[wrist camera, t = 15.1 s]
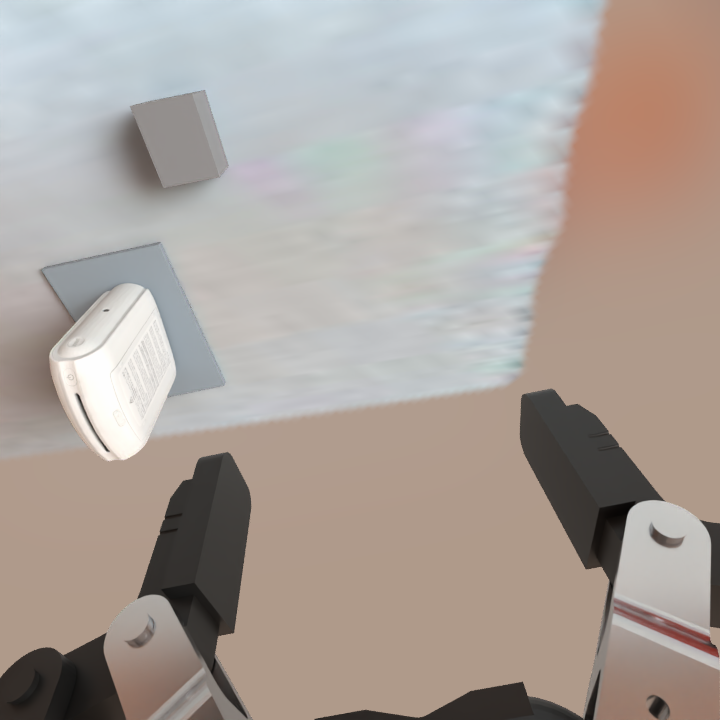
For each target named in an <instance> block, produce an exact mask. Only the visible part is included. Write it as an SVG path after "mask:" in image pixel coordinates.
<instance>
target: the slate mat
mask: <svg viewBox="0 0 720 720" xmlns="http://www.w3.org/2000/svg"><path fill="white" fill-rule="evenodd" d="M42 272H43V273H44V275H45V277H46V278H47V280H48V281H49V283H50V284H51V286H52V287H53V289H54V290H55V292H56V293H57V295H58V296H59V298H60V299H61V301H62V303H63V304H64V306H65V307H66V309H67V310H68V312H69V313H70V315H71V316H72V318H73V319H74V321H75V322H77V321H78V320H79V319H80V318H81V317H82V316H83V315H84V314H85V312H86V311H87V310H88V309H89V308H90V307H91V306H92V305H93V304H94V303H95V302H96V301H97V300H98V299H99V298H100V297H101V296H102V295H103V294H104V293H105V292H106V291H111V290H112V289H113V288H114V287H116V286H117V285H119V284H124V283H133V284H137V285H140V286H142V287H144V289H149V291H150V292H151V294H152V296H153V298H154V300H155V303H156V305H157V308H158V311H159V313H160V317H161V319H162V322H163V326H164V329H165V332H166V335H167V338H168V341H169V344H170V347H171V351H172V354H173V358H174V361H175V366H176V377H175V380H174V382H173V384H172V387H171V389H170V391H169V393H168V395H167V397H171V396H176V395H181V394H186V393H191V392H196V391H201V390H205V389H210V388H215V387H220V386H224V385H225V380H224V378H223V376H222V374H221V371H220V369H219V367H218V365H217V363H216V361H215V358H214V356H213V354H212V352H211V350H210V348H209V346H208V343H207V341H206V339H205V337H204V335H203V333H202V331H201V328H200V326H199V324H198V322H197V320H196V318H195V315H194V313H193V311H192V309H191V307H190V305H189V303H188V300H187V298H186V296H185V294H184V292H183V290H182V287H181V285H180V283H179V281H178V279H177V277H176V275H175V272H174V270H173V268H172V266H171V264H170V262H169V259H168V257H167V255H166V253H165V251H164V249H163V247H162V244H161V242H159V243H154V244H150V245H145V246H141V247H136V248H131V249H127V250H122V251H117V252H113V253H108V254H104V255H99V256H94V257H90V258H85V259H80V260H76V261H71V262H67V263H62V264H57V265H53V266H48V267H44V268H43V269H42Z"/></svg>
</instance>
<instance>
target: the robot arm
mask: <svg viewBox="0 0 720 720" xmlns="http://www.w3.org/2000/svg"><path fill="white" fill-rule="evenodd" d="M520 440H521V445H522V448H523V451H524V454H525V456H526V458H527V460H528V462H529V464H530V466H531V468H532V470H533V471H534V473H535V475H536V477H537V479H538V481H539V483H540V484H541V486H542V488H543V490H544V492H545V494H546V496H547V498H548V499H549V501H550V503H551V505H552V507H553V509H554V511H555V512H556V514H557V516H558V518H559V520H560V522H561V523H562V525H563V527H564V529H565V531H566V533H567V535H568V537H569V539H570V540H571V542H572V544H573V546H574V548H575V550H576V552H577V553H578V555H579V557H580V559H581V561H582V563H583V565H584V567H585V568H586V569H591V568H597V567H602V568H603V570H604V572H605V573H606V575H607V577H608V579H609V583H608V588H607V593H606V599H605V605H604V610H603V616H602V621H601V626H600V632H599V637H598V643H597V649H596V654H595V660H594V665H593V669H592V674H591V678H590V682H589V687H588V692H587V697H586V702H585V708H584V713H583V718H581V717H580V716H578V715H576V714H575V713H573V712H572V711H570V710H568V709H566V708H564V707H562V706H560V705H557V704H555V703H553V702H550V701H547V700H543V699H540V698H536V697H529V696H527V693H526V690H525V687H524V684H523V682H519V683H514V684H508V685H503V686H497V687H491V688H486V689H480V690H474V691H470V692H469V693H467V694H465V695H463V696H461V697H460V698H458V699H456V700H454V701H452V702H450V703H448V704H447V705H445V706H443V707H441V708H439V709H437V710H435V711H434V712H432V713H430V714H428V715H426V716H424V717H420V718H415V717H407V716H401V715H395V714H388V713H382V712H375V711H369V710H362V711H357V712H351V713H345V714H340V715H334V716H329V717H323V718H318V719H315V720H720V660H719V653H718V649H717V647H716V646H715V645H713V644H712V643H711V640H710V627H716V628H720V524H719V523H711V522H706V521H701V520H699V519H698V518H697V517H695V516H694V515H693V514H691V513H690V512H689V511H687V510H685V509H684V508H682V507H679V506H677V505H675V504H672V503H668V502H666V501H664V500H663V499H662V498H661V497H660V495H659V494H658V493H657V492H656V491H655V489H654V488H653V487H652V485H651V484H650V483H649V482H648V480H647V479H646V478H645V477H644V475H643V474H642V473H641V471H640V470H639V469H638V468H637V466H636V465H635V464H634V463H633V461H632V460H631V459H630V458H629V456H628V455H627V454H626V453H625V451H624V450H623V449H622V448H621V447H619V444H618V443H617V441H616V440H615V439H614V438H613V437H612V435H611V434H609V433H608V430H607V429H606V428H605V426H604V425H603V424H602V422H601V421H600V420H599V419H598V418H597V416H596V415H594V414H593V413H591V412H589V411H588V410H586V409H585V408H583V407H581V406H580V405H578V404H575V405H569V406H566V405H565V404H564V402H563V401H562V399H561V398H560V397H559V395H558V394H557V393H556V391H555V390H553V389H547V390H542V391H538V392H532V393H527V394H524V395H522V398H521V418H520ZM250 512H251V498H250V492H249V489H248V487H247V484H246V482H245V480H244V479H243V477H242V475H241V473H240V471H239V469H238V467H237V465H236V463H235V461H234V459H233V457H232V456H231V454H229V453H228V452H226V453H221V454H216V455H211V456H206V457H202V458H200V459H199V460H198V462H197V464H196V468H195V472H194V475H193V479H190V480H185V481H183V482H182V483H181V485H180V486H179V487H178V489H177V490H176V491H175V493H174V494H173V496H172V497H171V498H170V502H169V505H168V508H167V511H166V514H165V520H164V521H163V523H162V526H161V529H160V535H159V536H158V538H157V542H156V545H155V548H154V551H153V554H152V557H151V560H150V563H149V566H148V569H147V573H146V575H145V579H144V582H143V585H142V588H141V591H140V594H139V596H138V598H137V600H135V601H134V602H132V603H131V604H129V605H128V606H127V607H126V608H124V609H123V610H122V611H121V612H120V613H119V614H118V616H117V617H116V618H115V620H114V621H113V622H112V624H111V626H110V628H109V630H108V632H107V633H105V634H103V635H102V636H100V637H98V638H96V639H94V640H92V641H91V642H88V643H86V644H85V645H83V646H81V647H79V648H77V649H75V650H73V651H71V652H69V653H67V654H65V655H62V654H61V653H59V652H58V651H57V650H55V649H53V648H40V649H37V650H34V651H32V652H30V653H28V654H26V655H25V656H23V657H22V658H20V659H19V660H18V661H16V662H15V663H14V664H13V665H12V666H11V667H10V668H9V669H8V670H7V671H6V672H5V673H4V674H3V675H2V677H1V678H0V720H253V719H252V717H251V716H250V714H249V712H248V710H247V708H246V707H245V705H244V703H243V701H242V700H241V698H240V696H239V694H238V692H237V691H236V689H235V687H234V685H233V683H232V682H231V680H230V678H229V676H228V675H227V673H226V671H225V670H224V668H223V666H222V664H221V662H220V661H219V659H218V657H217V655H216V654H215V651H216V645H217V638H218V636H221V635H226V634H231V633H234V629H235V621H236V614H237V607H238V600H239V593H240V585H241V578H242V571H243V563H244V556H245V548H246V542H247V534H248V527H249V519H250Z"/></svg>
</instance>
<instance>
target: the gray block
mask: <svg viewBox="0 0 720 720" xmlns="http://www.w3.org/2000/svg"><path fill="white" fill-rule="evenodd" d="M130 108H131V110H132V112H133V115H134V117H135V120H136V122H137V125H138V127H139V130H140V132H141V135H142V137H143V139H144V142H145V144H146V147H147V149H148V152H149V154H150V157H151V159H152V161H153V164H154V166H155V169H156V171H157V174H158V176H159V179H160V181H161V184H162V186H163V188H167V187H172V186H178V185H183V184H188V183H193V182H198V181H203V180H208V179H213V178H218V177H220V176H221V175H222V174H223V173H224V171H225V170H226V169H227V168H228V166H229V165H228V162H227V159H226V156H225V152H224V149H223V146H222V143H221V140H220V137H219V133H218V130H217V127H216V124H215V121H214V118H213V114H212V111H211V108H210V105H209V102H208V99H207V95H206V92H205V90H203V91H198V92H193V93H189V94H184V95H179V96H174V97H169V98H164V99H159V100H154V101H149V102H145V103H141V104H137V105H133V106H130Z"/></svg>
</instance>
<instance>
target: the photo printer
mask: <svg viewBox="0 0 720 720" xmlns="http://www.w3.org/2000/svg"><path fill="white" fill-rule="evenodd" d="M49 363H50V370H51V375H52V379H53V382H54V385H55V388H56V391H57V394H58V397H59V399H60V402H61V404H62V406H63V408H64V410H65V412H66V414H67V416H68V418H69V420H70V422H71V424H72V425H73V427H74V429H75V430H76V432H77V433H78V435H79V436H80V438H81V439H82V440H83V441H84V443H85V444H86V445H87V446H88V447H89V448H90V449H91V450H92V451H93V452H94V453H95V454H97V455H98V456H99V457H101V458H102V459H104V460H106V461H111V460H125V459H127V458H129V457H131V456H133V455H135V454H136V453H137V452H138V451H139V450H141V449H142V447H143V446H144V445H145V444H146V442H147V440H148V438H149V436H150V433H151V431H152V429H153V427H154V424H155V422H156V420H157V418H158V415H159V413H160V411H161V409H162V406H163V404H164V402H165V400H166V398H167V395H168V393H169V391H170V389H171V387H172V384H173V382H174V380H175V377H176V366H175V361H174V358H173V354H172V351H171V347H170V344H169V341H168V338H167V335H166V332H165V329H164V326H163V322H162V319H161V317H160V313H159V311H158V308H157V305H156V303H155V300H154V298H153V296H152V294H151V292H150V291H149V289H144V287H142V286H140V285H137V284H133V283H124V284H119V285H117V286H116V287H114V288H113V289H112V290H111V291H106V292H105V293H104V294H103V295H102V296H101V297H100V298H99V299H98V300H97V301H96V302H95V303H94V304H93V305H92V306H91V307H90V308H89V309H88V310H87V311H86V312H85V314H84V315H83V316H82V317H81V318H80V319H79V320H78V321H77V322H76V323H75V324H74V325H73V326H72V327H71V329H70V330H69V331H68V332H67V333H66V334H65V335H64V336H63V337H62V338H61V339H60V340H59V342H58V343H57V344H56V345H55V346H54V347H53V348H52V350H51V351H50V354H49Z"/></svg>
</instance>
